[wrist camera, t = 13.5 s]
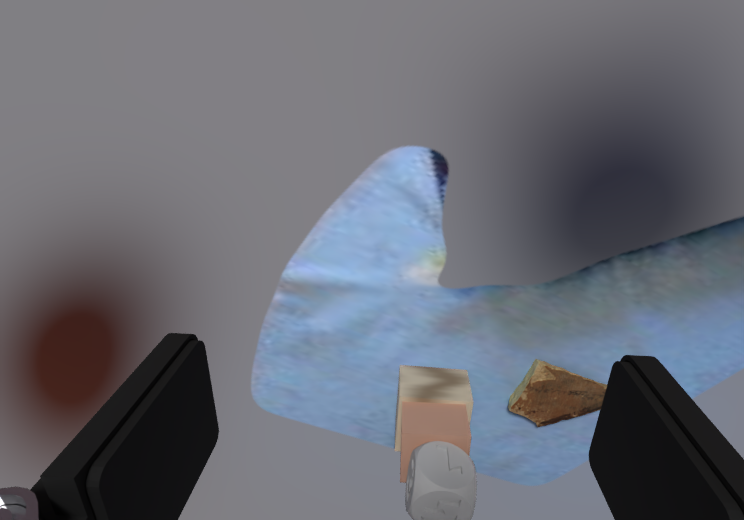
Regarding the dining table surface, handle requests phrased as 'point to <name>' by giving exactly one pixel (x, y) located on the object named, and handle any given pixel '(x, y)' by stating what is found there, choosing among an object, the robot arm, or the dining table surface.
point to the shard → (555, 395)
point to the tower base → (431, 390)
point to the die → (440, 483)
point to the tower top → (432, 428)
